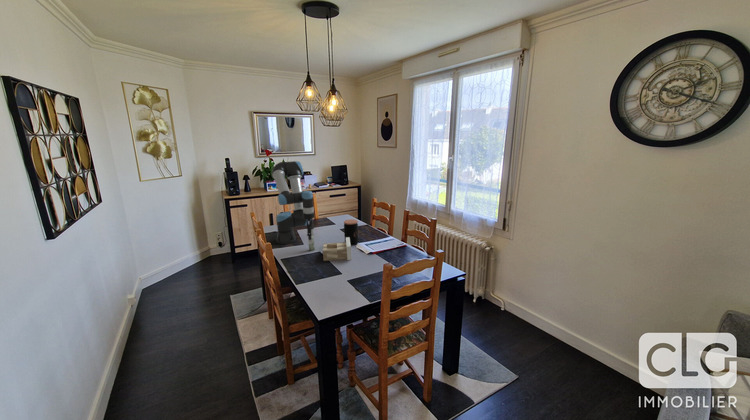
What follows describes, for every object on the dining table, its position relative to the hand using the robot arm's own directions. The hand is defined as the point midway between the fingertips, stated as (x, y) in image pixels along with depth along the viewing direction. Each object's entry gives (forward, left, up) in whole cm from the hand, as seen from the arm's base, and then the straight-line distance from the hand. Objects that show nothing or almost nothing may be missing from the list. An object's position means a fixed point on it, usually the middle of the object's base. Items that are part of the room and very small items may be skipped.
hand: (311, 240), depth 213 cm
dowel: (0, 0, -8) cm, 8 cm away
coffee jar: (-8, +30, -8) cm, 32 cm away
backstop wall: (+14, +26, -8) cm, 31 cm away
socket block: (+14, +17, -7) cm, 23 cm away
